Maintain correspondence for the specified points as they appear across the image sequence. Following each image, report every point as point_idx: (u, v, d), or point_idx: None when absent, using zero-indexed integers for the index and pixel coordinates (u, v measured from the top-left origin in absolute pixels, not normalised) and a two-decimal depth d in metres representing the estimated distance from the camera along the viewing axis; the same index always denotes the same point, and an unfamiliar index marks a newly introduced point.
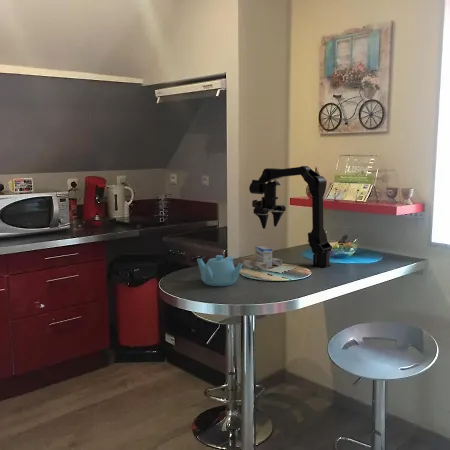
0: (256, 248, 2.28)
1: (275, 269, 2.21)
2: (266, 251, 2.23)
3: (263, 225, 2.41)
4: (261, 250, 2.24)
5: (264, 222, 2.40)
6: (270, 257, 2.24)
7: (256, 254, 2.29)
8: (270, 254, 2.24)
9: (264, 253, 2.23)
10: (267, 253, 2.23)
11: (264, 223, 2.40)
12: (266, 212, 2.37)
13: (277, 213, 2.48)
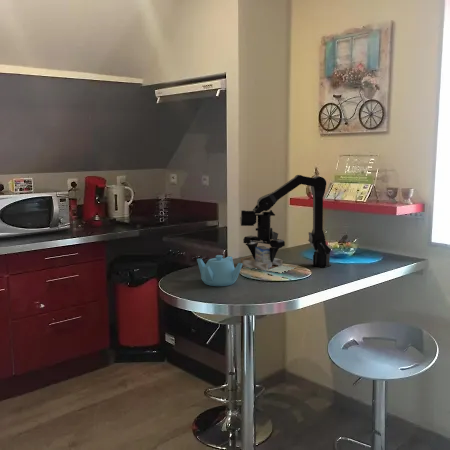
0: (256, 248, 2.28)
1: (275, 269, 2.21)
2: (266, 251, 2.23)
3: None
4: (261, 250, 2.24)
5: None
6: None
7: (256, 254, 2.29)
8: None
9: (264, 253, 2.23)
10: (267, 253, 2.23)
11: None
12: (246, 241, 2.29)
13: None
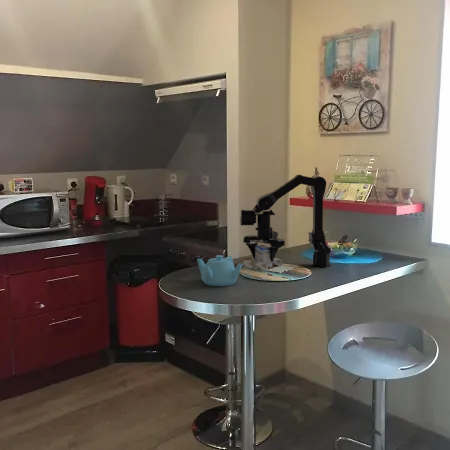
0: (256, 247, 2.28)
1: (275, 269, 2.21)
2: (266, 250, 2.23)
3: None
4: (261, 249, 2.24)
5: None
6: None
7: (256, 253, 2.29)
8: None
9: (264, 252, 2.23)
10: (267, 252, 2.23)
11: None
12: (246, 241, 2.29)
13: None
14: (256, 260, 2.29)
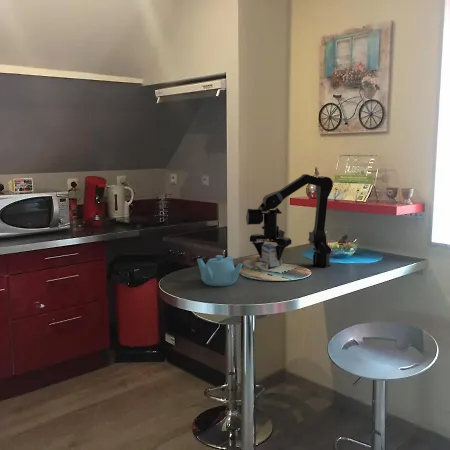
0: (262, 246, 2.26)
1: (275, 269, 2.21)
2: (273, 249, 2.21)
3: None
4: (268, 248, 2.22)
5: None
6: None
7: (262, 252, 2.26)
8: None
9: (270, 251, 2.21)
10: (274, 251, 2.21)
11: None
12: (253, 240, 2.26)
13: None
14: (262, 259, 2.27)
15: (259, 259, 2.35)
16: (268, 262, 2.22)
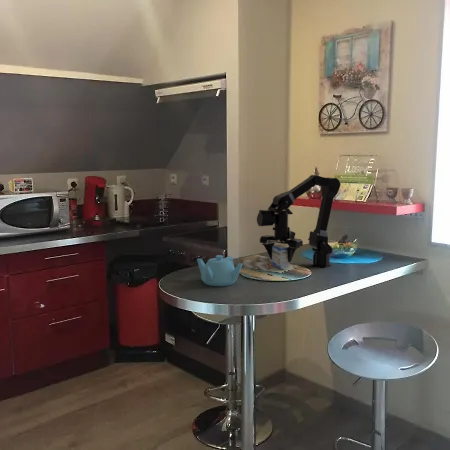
0: (273, 247, 2.23)
1: (275, 269, 2.21)
2: (284, 250, 2.17)
3: None
4: (278, 249, 2.18)
5: None
6: None
7: (273, 253, 2.23)
8: None
9: (281, 252, 2.17)
10: (284, 253, 2.18)
11: None
12: (263, 241, 2.23)
13: None
14: (273, 261, 2.23)
15: (259, 259, 2.35)
16: (279, 264, 2.19)
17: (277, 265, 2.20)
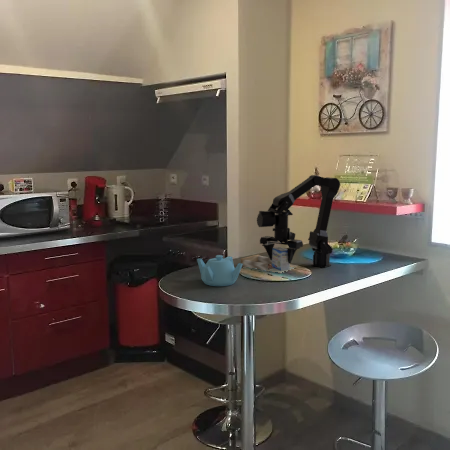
0: (273, 249, 2.23)
1: (275, 269, 2.21)
2: (284, 253, 2.17)
3: None
4: (279, 251, 2.19)
5: None
6: None
7: (273, 256, 2.23)
8: None
9: (282, 255, 2.17)
10: (285, 255, 2.18)
11: None
12: (263, 242, 2.23)
13: None
14: (273, 263, 2.23)
15: (259, 259, 2.35)
16: (279, 266, 2.19)
17: (277, 267, 2.20)
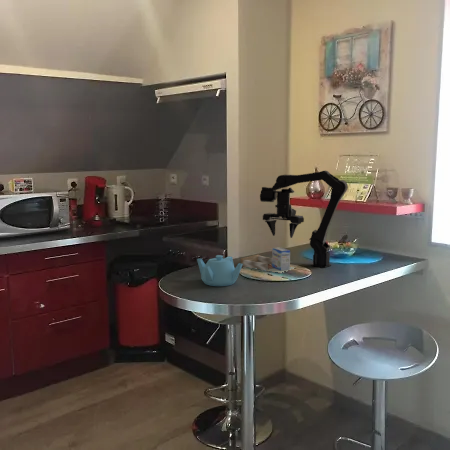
0: (273, 249, 2.23)
1: (275, 269, 2.21)
2: (284, 253, 2.17)
3: None
4: (279, 252, 2.19)
5: None
6: (288, 259, 2.19)
7: (273, 256, 2.23)
8: (288, 256, 2.19)
9: (282, 255, 2.17)
10: (285, 255, 2.18)
11: None
12: (266, 218, 2.35)
13: None
14: (273, 263, 2.23)
15: (259, 259, 2.35)
16: (279, 266, 2.19)
17: (277, 267, 2.20)
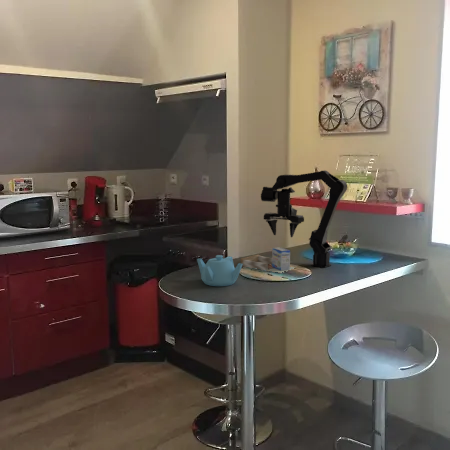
0: (273, 249, 2.23)
1: (275, 269, 2.21)
2: (284, 253, 2.17)
3: None
4: (279, 252, 2.19)
5: None
6: (288, 259, 2.19)
7: (273, 256, 2.23)
8: (288, 256, 2.19)
9: (282, 255, 2.17)
10: (285, 255, 2.18)
11: None
12: (267, 218, 2.37)
13: None
14: (273, 263, 2.23)
15: (259, 259, 2.35)
16: (279, 266, 2.19)
17: (277, 267, 2.20)
